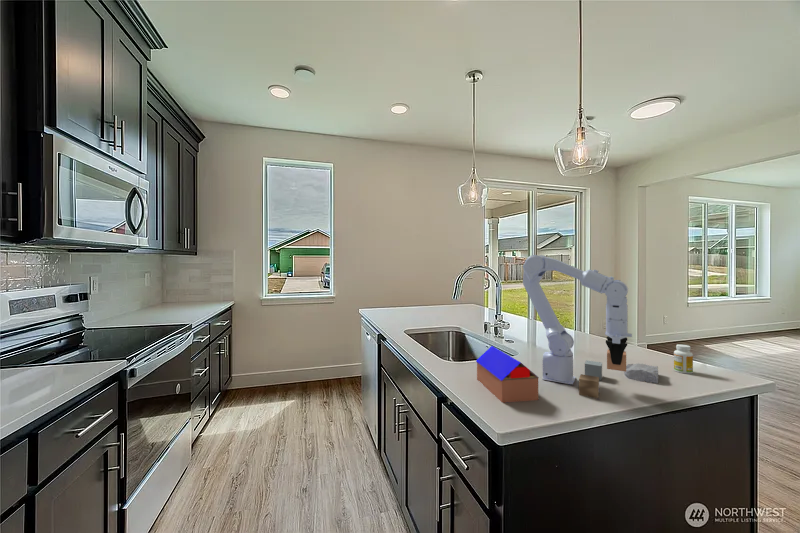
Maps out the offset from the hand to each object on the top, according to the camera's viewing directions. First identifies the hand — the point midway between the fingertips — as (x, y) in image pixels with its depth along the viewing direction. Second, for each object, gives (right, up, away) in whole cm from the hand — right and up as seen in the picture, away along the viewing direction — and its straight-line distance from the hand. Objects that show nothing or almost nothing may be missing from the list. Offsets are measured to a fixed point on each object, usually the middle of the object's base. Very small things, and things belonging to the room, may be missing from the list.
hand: (616, 361), depth 105 cm
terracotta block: (0, -2, 0) cm, 2 cm away
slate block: (0, -9, +12) cm, 15 cm away
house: (-35, -10, +2) cm, 36 cm away
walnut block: (-10, -9, -3) cm, 14 cm away
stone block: (+17, -9, +13) cm, 23 cm away
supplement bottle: (+36, -9, +17) cm, 40 cm away
